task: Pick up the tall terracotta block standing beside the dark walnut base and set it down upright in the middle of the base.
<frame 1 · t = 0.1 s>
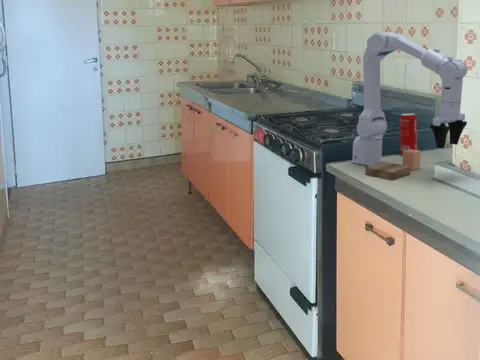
hand: (447, 146, 175), 10 cm above the countertop, fingers open, 7 cm apart
beverage can: (407, 155, 209), on the countertop
terracotta block: (410, 168, 189), on the countertop
walnut base: (387, 174, 182), on the countertop
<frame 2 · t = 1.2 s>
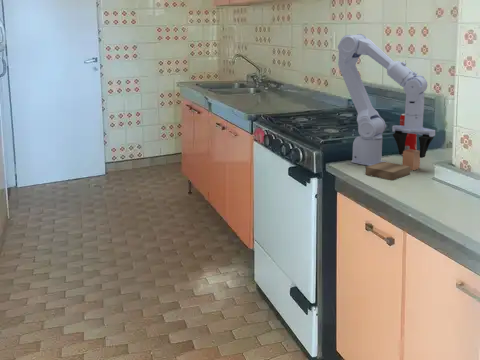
hand: (411, 155, 188), 4 cm above the countertop, fingers open, 7 cm apart
nothing on the countertop moved.
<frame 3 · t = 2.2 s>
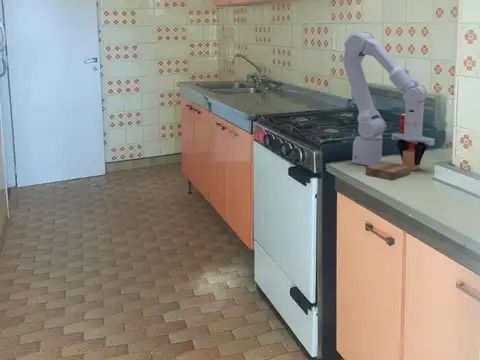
hand: (411, 163, 189), 2 cm above the countertop, fingers closed on terracotta block, 4 cm apart
terracotta block: (410, 168, 189), on the countertop, touching gripper
everything else where it was.
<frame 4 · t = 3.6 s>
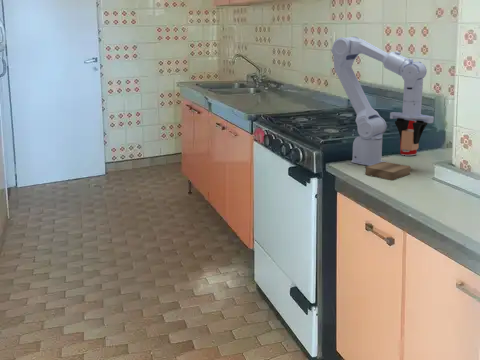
hand: (409, 142, 186), 9 cm above the countertop, fingers closed on terracotta block, 4 cm apart
terracotta block: (409, 148, 187), point 7 cm above the countertop, touching gripper
everything else where it was.
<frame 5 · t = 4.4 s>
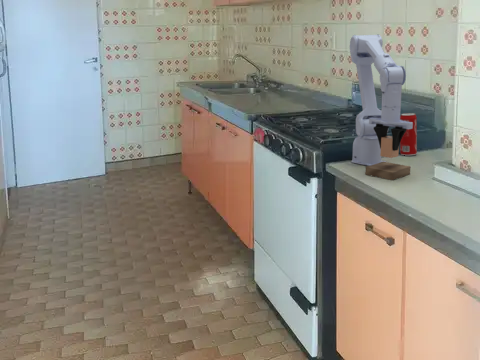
hand: (389, 149, 180), 8 cm above the countertop, fingers closed on terracotta block, 4 cm apart
terracotta block: (389, 156, 181), point 6 cm above the countertop, touching gripper
everything else where it was.
when the fingers open (6 cm above the countertop, at t = 5.2 s): terracotta block stays where it is, resting on walnut base.
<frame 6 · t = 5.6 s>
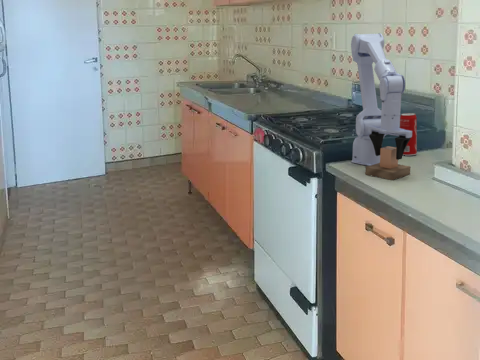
hand: (388, 157, 181), 6 cm above the countertop, fingers open, 7 cm apart
terracotta block: (388, 166, 182), point 2 cm above the countertop, touching walnut base
everything else where it was.
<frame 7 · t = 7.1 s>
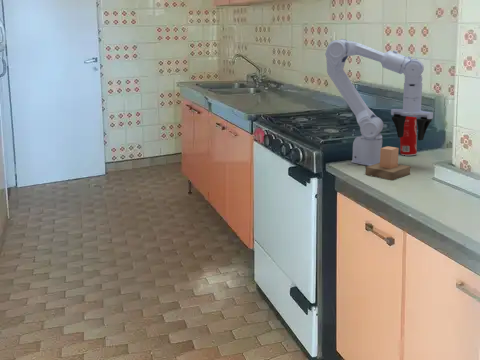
hand: (410, 138, 190), 9 cm above the countertop, fingers open, 7 cm apart
nothing on the countertop moved.
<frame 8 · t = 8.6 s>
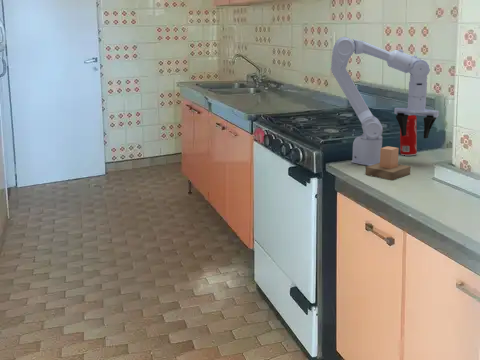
hand: (414, 136, 192), 9 cm above the countertop, fingers open, 7 cm apart
nothing on the countertop moved.
at the end: terracotta block 0.4 cm off-centre on the walnut base, point 2.5 cm above the walnut base's base; terracotta block tilted 0°; terracotta block touching walnut base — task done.
